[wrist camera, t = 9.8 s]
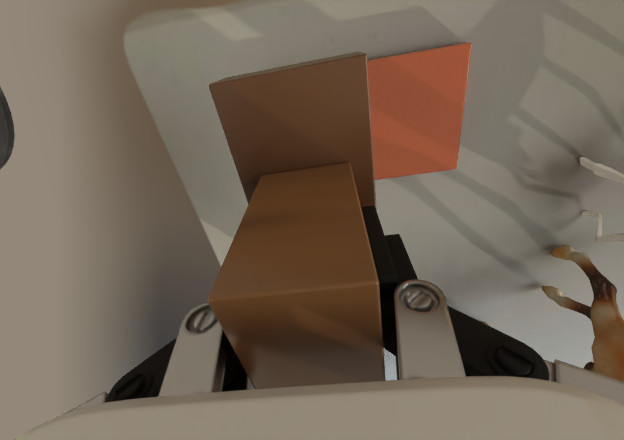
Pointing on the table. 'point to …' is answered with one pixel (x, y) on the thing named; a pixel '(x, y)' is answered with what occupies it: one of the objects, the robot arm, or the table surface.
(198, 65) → the table surface
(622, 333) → the horse figurine
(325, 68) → the brown stepped block
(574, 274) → the table surface
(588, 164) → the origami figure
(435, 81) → the tile
